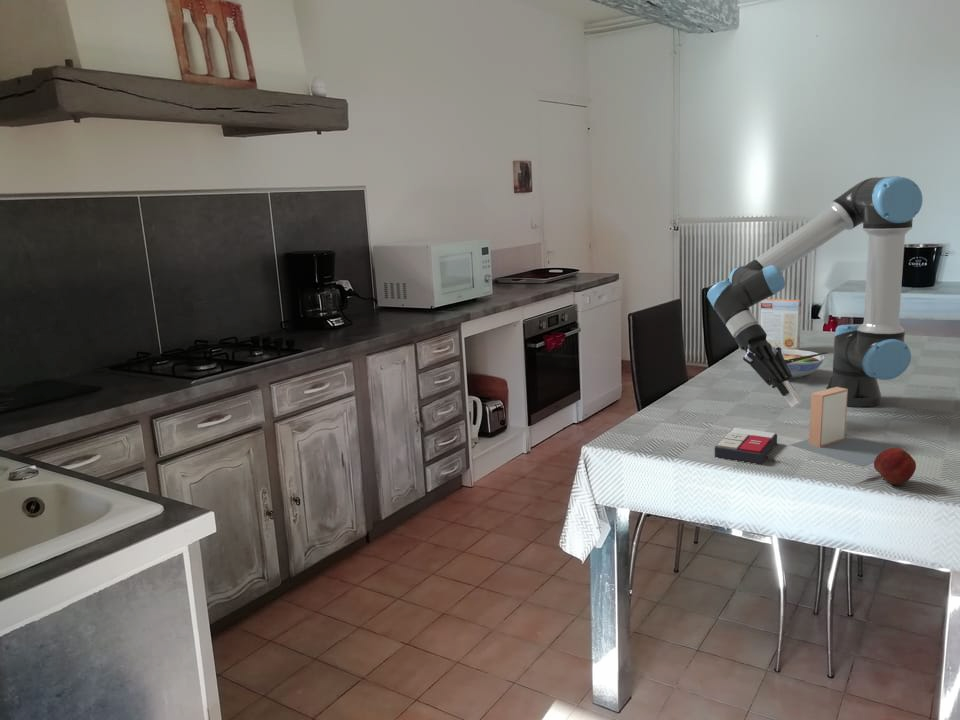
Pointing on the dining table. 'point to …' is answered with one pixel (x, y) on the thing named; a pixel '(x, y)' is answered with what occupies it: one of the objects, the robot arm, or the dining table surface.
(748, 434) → the calculator
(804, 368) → the ramen bowl
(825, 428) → the block
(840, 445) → the mat
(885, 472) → the apple
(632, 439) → the dining table surface
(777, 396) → the dining table surface
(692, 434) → the dining table surface
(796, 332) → the cracker box
